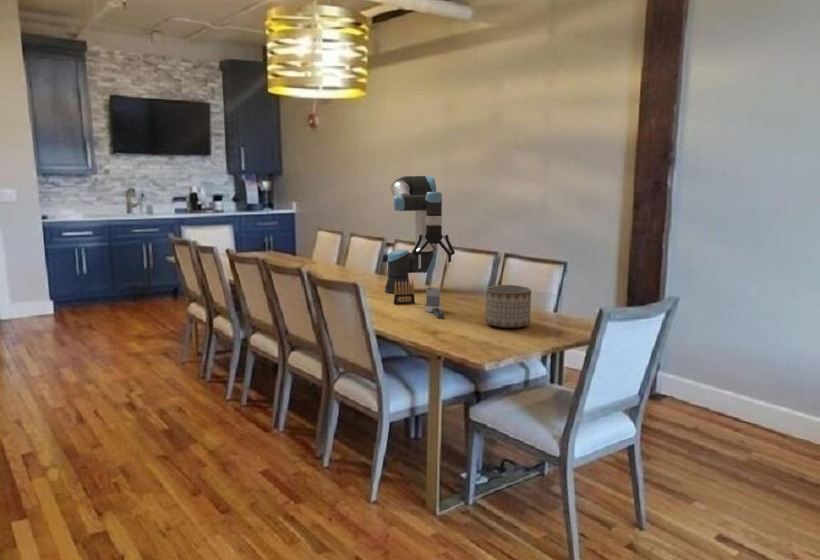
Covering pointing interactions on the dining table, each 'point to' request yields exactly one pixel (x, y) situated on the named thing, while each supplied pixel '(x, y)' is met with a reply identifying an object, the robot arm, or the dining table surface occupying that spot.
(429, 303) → the grey rectangular block
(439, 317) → the metal ladle
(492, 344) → the dining table surface
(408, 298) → the ammunition clip
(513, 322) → the planter
